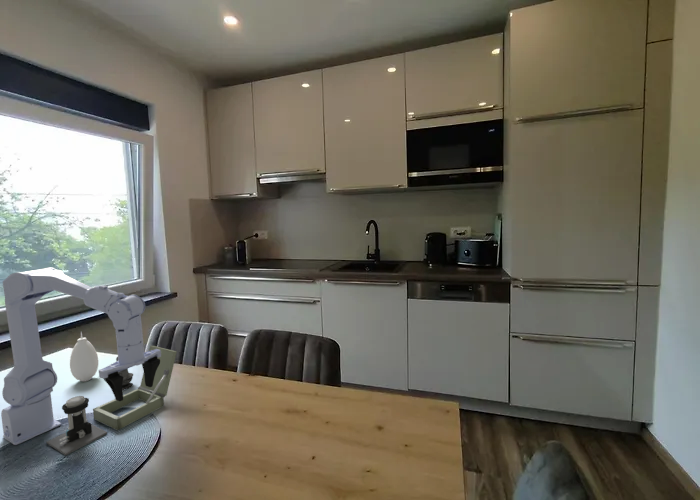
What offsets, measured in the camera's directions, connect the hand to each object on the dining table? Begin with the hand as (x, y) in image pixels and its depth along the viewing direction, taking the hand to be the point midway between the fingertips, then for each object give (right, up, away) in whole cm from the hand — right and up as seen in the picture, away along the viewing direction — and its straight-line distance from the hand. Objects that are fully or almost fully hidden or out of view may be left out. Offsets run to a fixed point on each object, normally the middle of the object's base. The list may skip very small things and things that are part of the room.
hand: (134, 392), depth 88 cm
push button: (-14, -11, -2) cm, 17 cm away
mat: (-14, -11, -2) cm, 18 cm away
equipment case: (-6, -10, +12) cm, 17 cm away
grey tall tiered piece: (-20, -9, +25) cm, 33 cm away
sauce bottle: (-37, -9, +31) cm, 49 cm away
